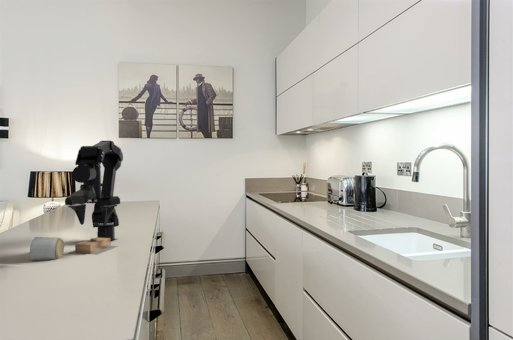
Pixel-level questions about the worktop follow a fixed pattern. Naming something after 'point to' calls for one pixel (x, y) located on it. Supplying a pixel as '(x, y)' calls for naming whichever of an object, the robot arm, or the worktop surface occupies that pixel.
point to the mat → (97, 251)
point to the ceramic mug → (46, 248)
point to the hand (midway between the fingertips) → (93, 224)
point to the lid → (92, 245)
